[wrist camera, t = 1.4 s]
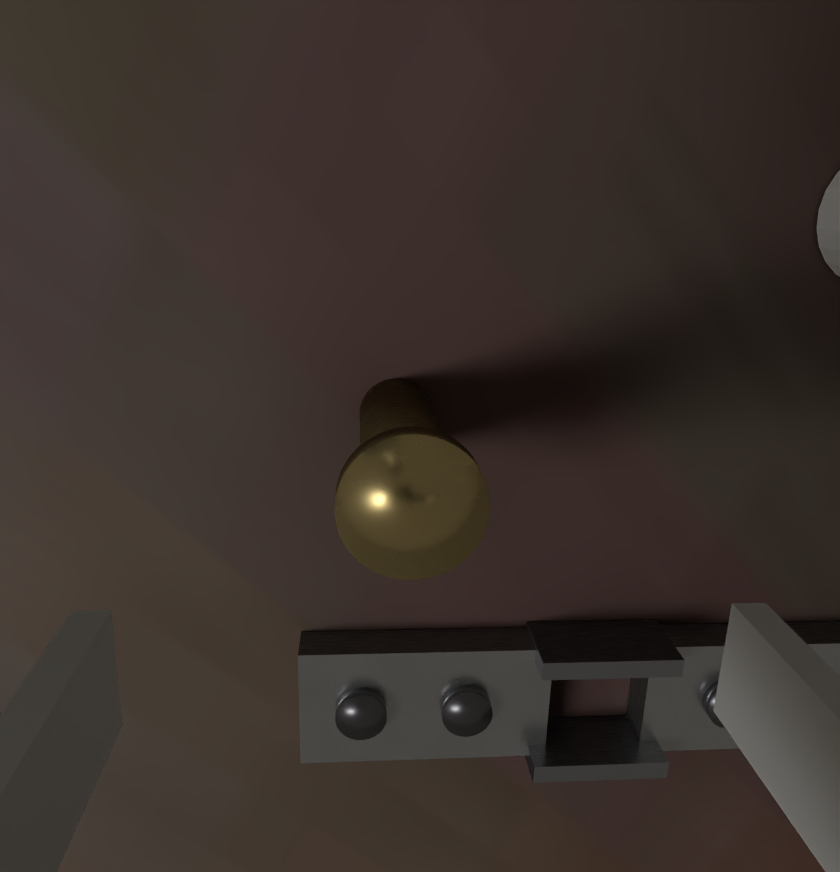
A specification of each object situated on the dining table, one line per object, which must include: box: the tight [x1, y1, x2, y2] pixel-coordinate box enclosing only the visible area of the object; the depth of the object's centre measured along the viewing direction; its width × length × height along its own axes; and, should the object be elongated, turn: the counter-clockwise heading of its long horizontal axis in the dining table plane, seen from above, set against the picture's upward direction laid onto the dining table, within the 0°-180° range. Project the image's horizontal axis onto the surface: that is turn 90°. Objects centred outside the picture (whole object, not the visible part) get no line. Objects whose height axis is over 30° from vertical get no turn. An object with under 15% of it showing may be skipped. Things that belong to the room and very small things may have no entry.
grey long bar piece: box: [298, 620, 840, 783], centre depth 37 cm, size 29×7×4 cm, turn 89°
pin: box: [335, 379, 490, 580], centre depth 28 cm, size 5×5×11 cm
